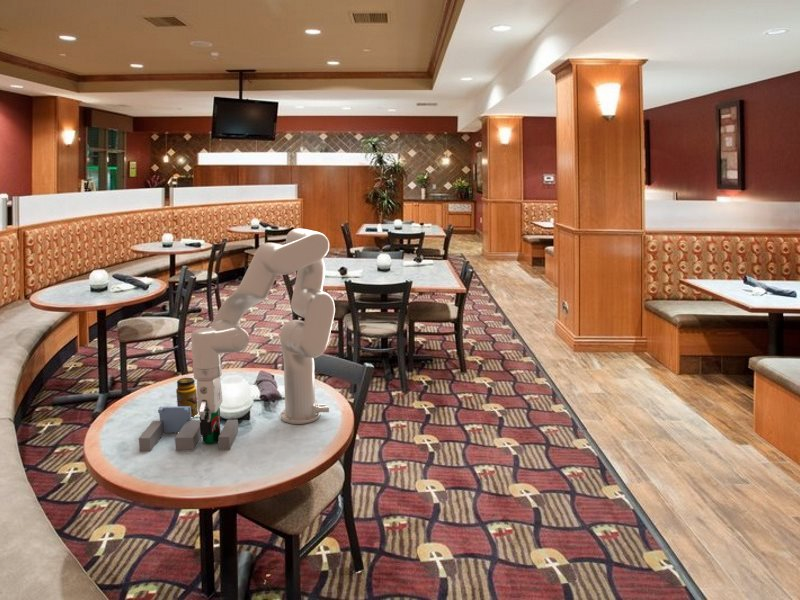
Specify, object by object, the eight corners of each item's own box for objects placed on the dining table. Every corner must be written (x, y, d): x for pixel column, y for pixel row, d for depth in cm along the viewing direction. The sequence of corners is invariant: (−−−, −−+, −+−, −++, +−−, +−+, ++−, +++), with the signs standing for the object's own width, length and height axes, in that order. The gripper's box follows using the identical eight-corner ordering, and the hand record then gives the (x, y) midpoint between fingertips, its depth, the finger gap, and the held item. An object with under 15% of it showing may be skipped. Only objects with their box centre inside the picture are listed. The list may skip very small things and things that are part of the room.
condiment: (201, 416, 198) (199, 381, 196) (174, 422, 194) (171, 386, 191) (195, 409, 204) (192, 374, 202) (168, 414, 200) (165, 379, 197)
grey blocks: (239, 430, 188) (237, 405, 186) (229, 450, 176) (228, 423, 174) (155, 431, 187) (153, 406, 185) (139, 451, 174) (137, 424, 173)
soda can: (221, 436, 184) (219, 398, 181) (219, 444, 179) (217, 405, 176) (204, 437, 183) (201, 399, 180) (201, 445, 178) (198, 406, 176)
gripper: (213, 381, 168) (216, 440, 172) (227, 361, 185) (230, 415, 189) (185, 382, 168) (189, 440, 171) (201, 361, 185) (205, 415, 188)
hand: (210, 427), depth 180 cm, fingers open, 9 cm apart
